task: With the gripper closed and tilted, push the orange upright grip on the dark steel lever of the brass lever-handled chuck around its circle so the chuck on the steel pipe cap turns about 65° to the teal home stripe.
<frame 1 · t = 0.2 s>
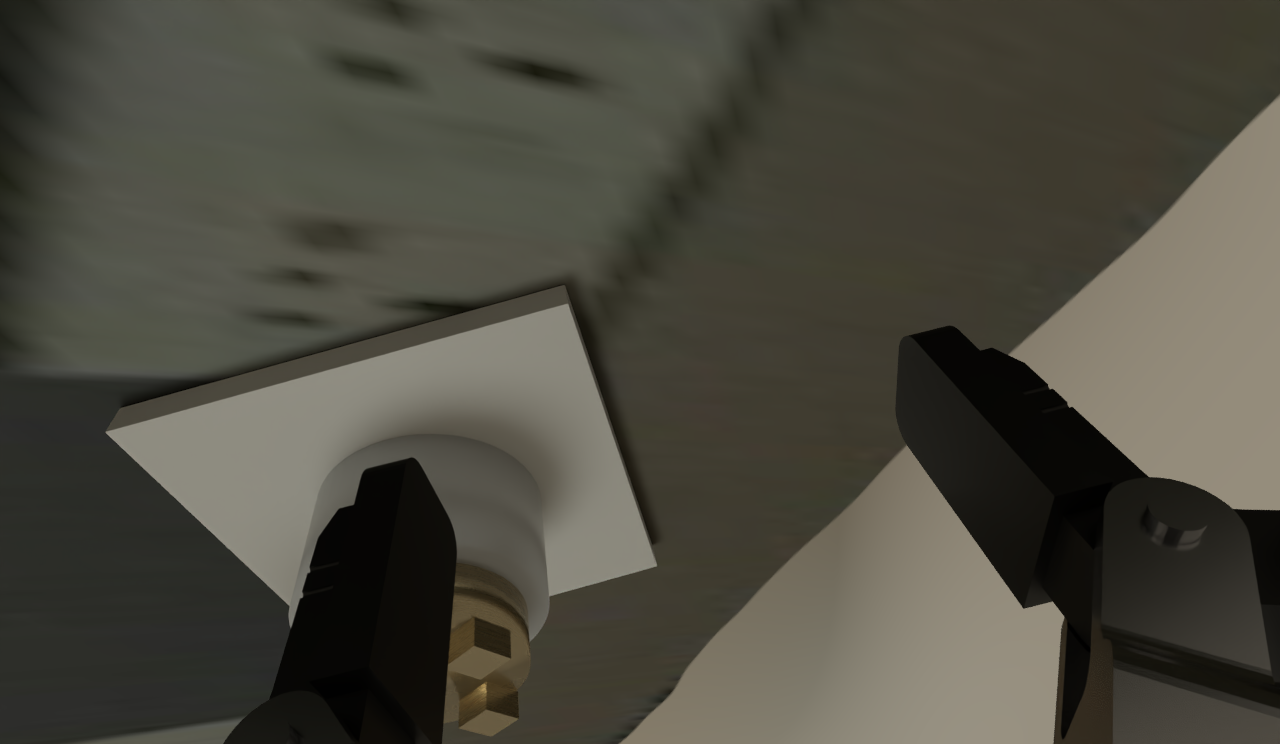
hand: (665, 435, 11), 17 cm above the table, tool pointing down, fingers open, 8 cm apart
pipe cap housing: (434, 489, 36), on the table
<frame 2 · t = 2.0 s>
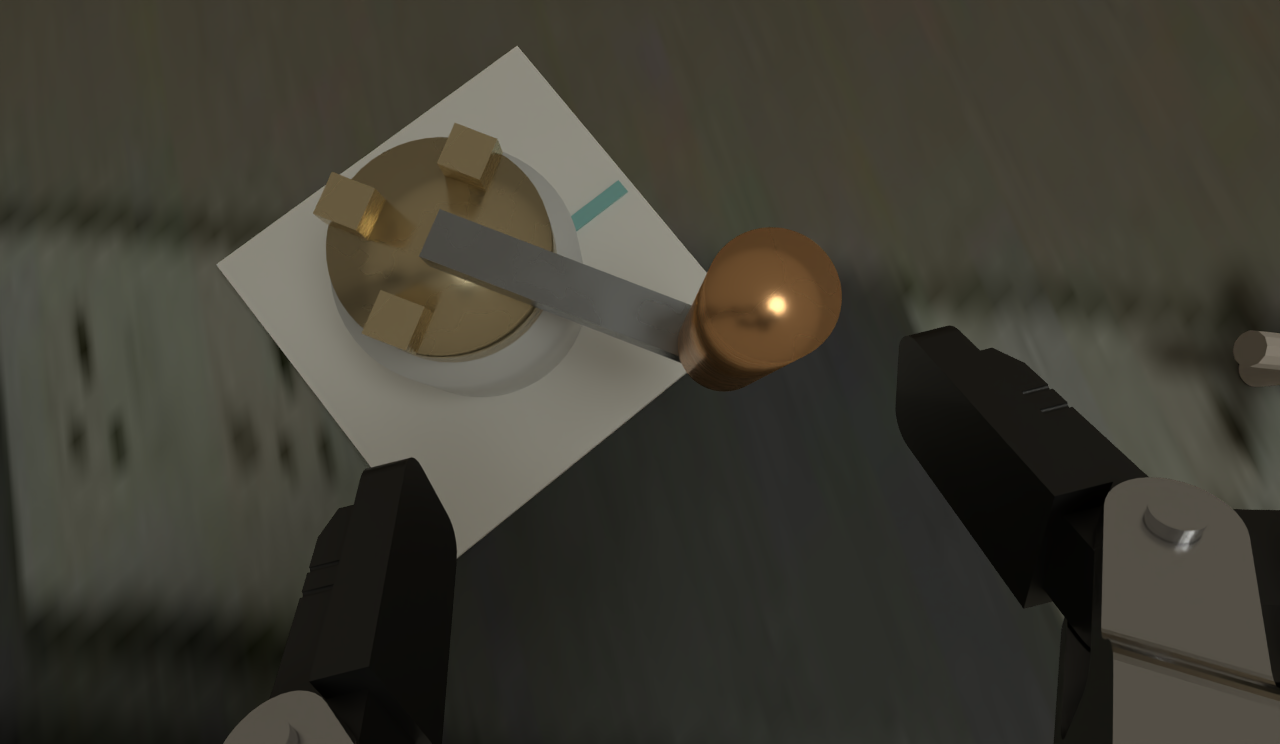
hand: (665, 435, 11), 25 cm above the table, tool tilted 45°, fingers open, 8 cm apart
pipe connector: (1251, 371, 38), on the table
pipe cap housing: (489, 300, 37), on the table
lever-handled chuck: (534, 258, 23), point 14 cm above the table, hinge at 0.0°
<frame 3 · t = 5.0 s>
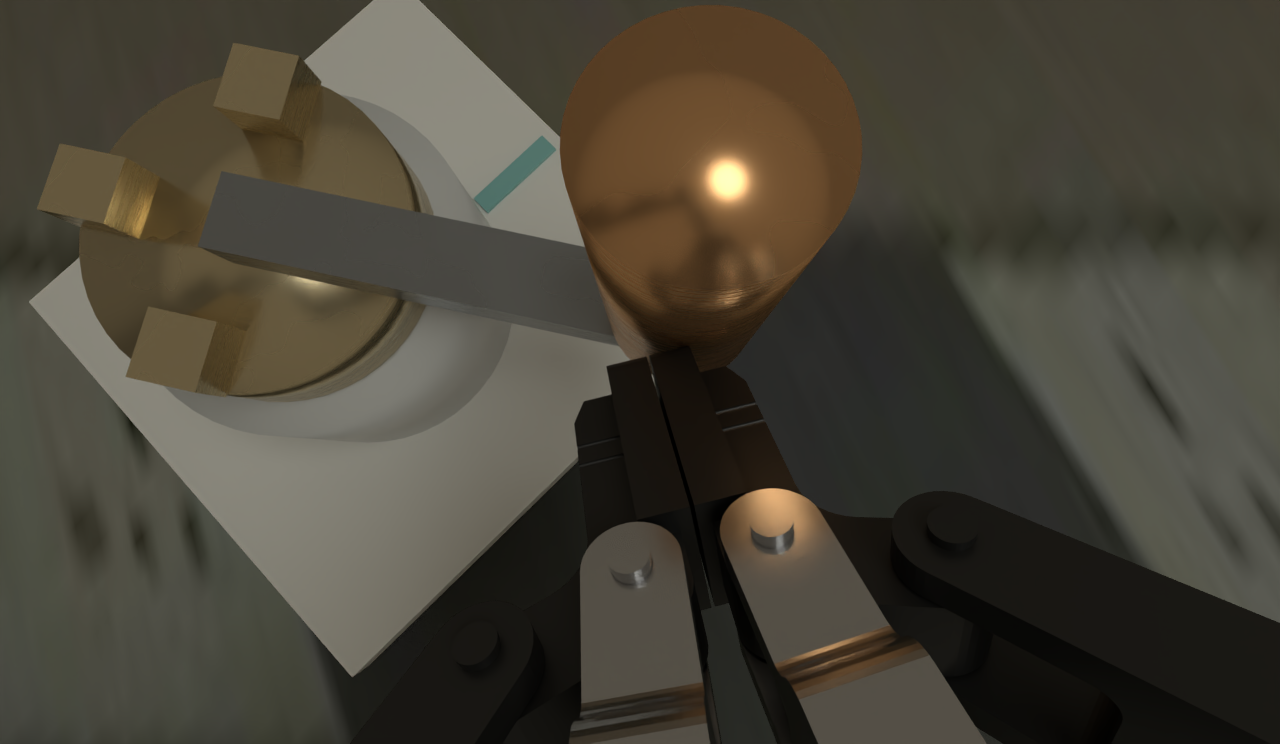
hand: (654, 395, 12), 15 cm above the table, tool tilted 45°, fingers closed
pipe cap housing: (391, 312, 28), on the table
lever-handled chuck: (344, 211, 14), point 14 cm above the table, hinge at 3.1°, touching gripper
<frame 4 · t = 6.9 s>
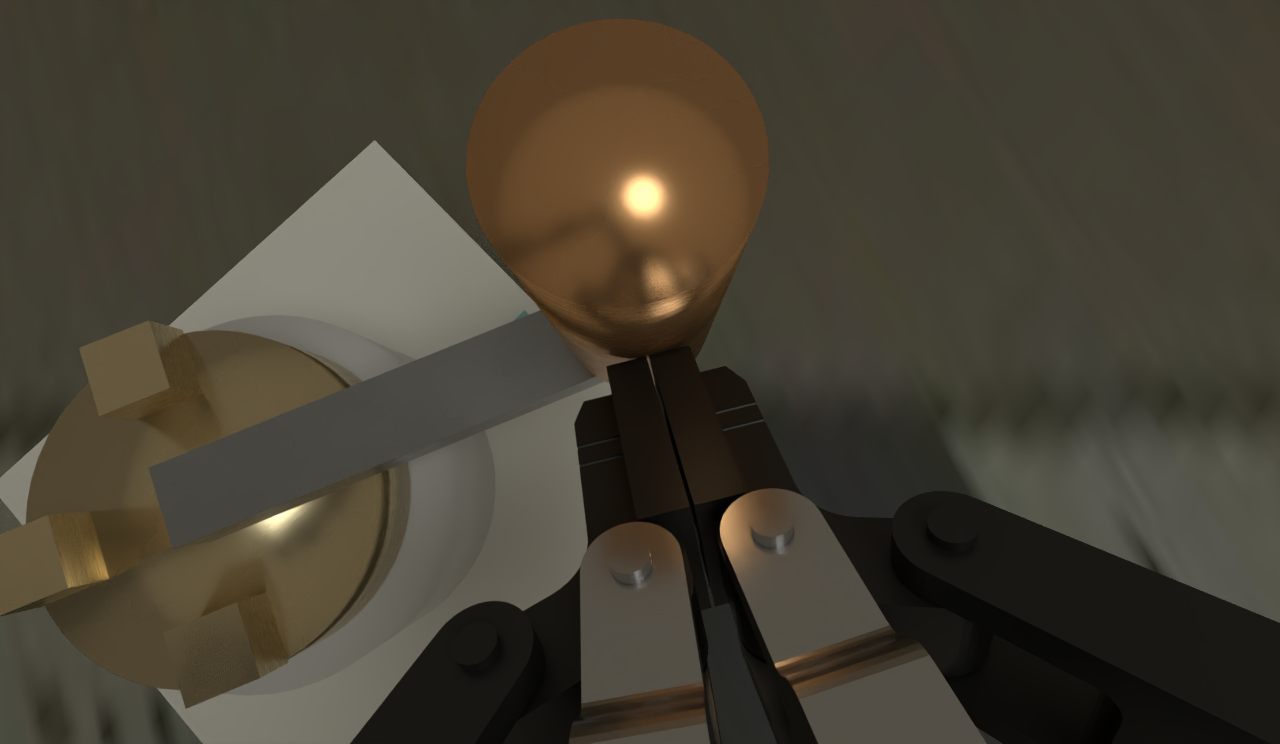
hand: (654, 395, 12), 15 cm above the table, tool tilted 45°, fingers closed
pipe cap housing: (369, 488, 27), on the table
lever-handled chuck: (294, 427, 14), point 14 cm above the table, hinge at 37.7°, touching gripper
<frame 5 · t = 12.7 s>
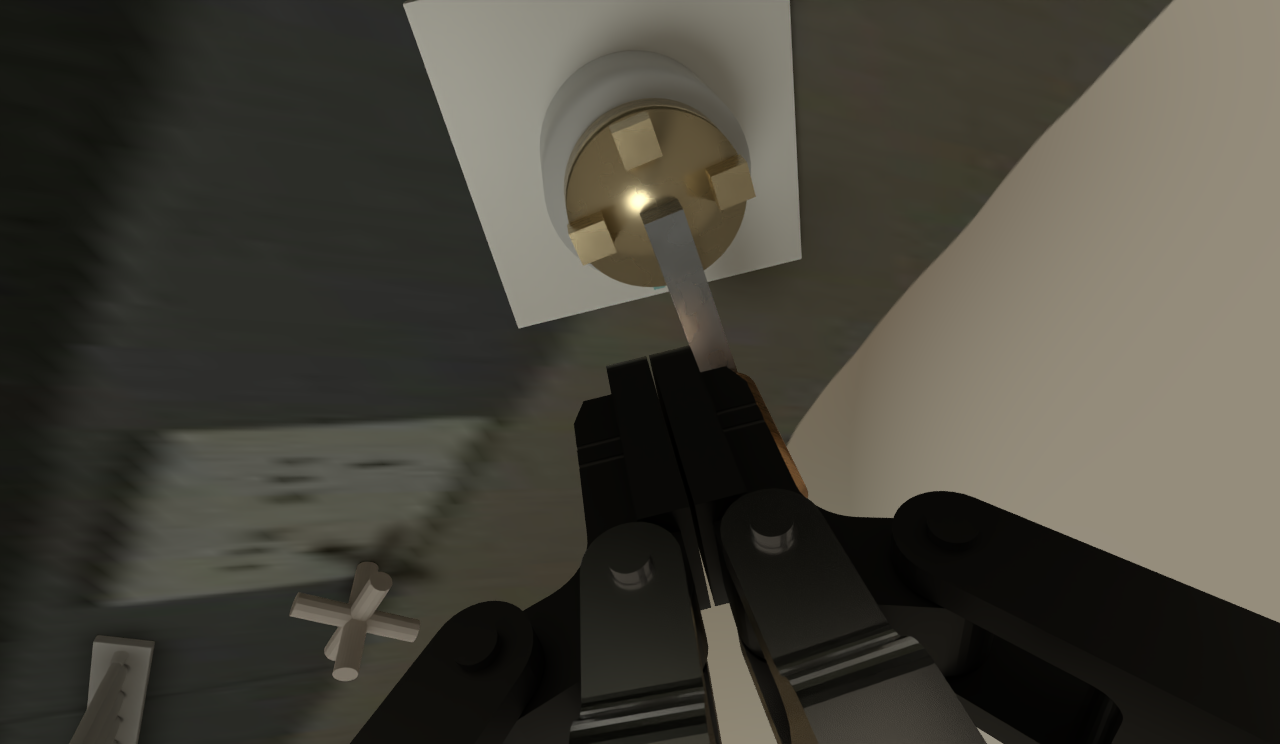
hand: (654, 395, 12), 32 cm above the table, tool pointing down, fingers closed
test tube rack: (117, 709, 66), on the table
pipe connector: (368, 566, 59), on the table
pipe cap housing: (629, 143, 41), on the table
lever-handled chuck: (701, 317, 33), point 14 cm above the table, hinge at 68.9°
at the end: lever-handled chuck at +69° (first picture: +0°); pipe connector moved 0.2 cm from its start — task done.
